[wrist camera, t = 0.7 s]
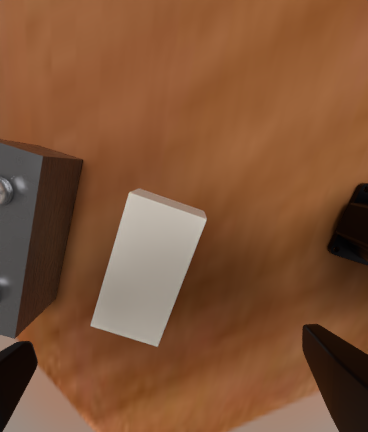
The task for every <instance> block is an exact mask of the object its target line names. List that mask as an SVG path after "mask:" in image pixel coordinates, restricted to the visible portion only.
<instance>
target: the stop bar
mask: <svg viewBox="0 0 368 432" xmlns="http://www.w3.org/2000/svg"><path fill="white" fill-rule="evenodd" d="M82 162H83V160H82V159H79V158H76V157H73V156H70V155H66V154H63V153H60V152H57V151H54V150H51V149H47V148H44V147H41V146H38V145H33V144H26V143H20V142H14V141H7V140H1V139H0V335H3V336H7V337H11V338H14V339H15V338H16V337H17V336H18V335H19V334H20V333H21V332H22V331H23V330H24V329H25V328H26V327H27V326H28V325H29V324H30V323H31V322H32V321H33V320H34V319H35V318H36V317H37V316H38V315H39V314H41V313H42V312H43V311H44V310H45V309H46V308H47V307H48V306H49V305H50V304H51V303H52V302H53V301H54V300H55V299H56V294H57V289H58V284H59V279H60V274H61V269H62V263H63V258H64V253H65V248H66V243H67V238H68V233H69V228H70V223H71V218H72V213H73V208H74V203H75V198H76V193H77V188H78V182H79V177H80V172H81V167H82Z"/></svg>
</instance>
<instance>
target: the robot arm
mask: <svg viewBox="0 0 368 432" xmlns="http://www.w3.org/2000/svg"><path fill="white" fill-rule="evenodd" d="M365 187H366V190H365V191H364V188H365ZM335 247H336V249H335V250H334V248H335ZM328 251H329V252H330V253H332V254H334V255H337V256H340V257H343V258H346V259H349V260H353V261H356V262H359V263H362V264H365V265H368V183H362V184H360V185H359V186H358V187H357V189H356V191H355V193H354V195H353V197H352V199H351V201H350V203H349V205H348V207H347V209H346V211H345V213H344V215H343V217H342V219H341V221H340V223H339V225H338V227H337V229H336V232H335V234H334V236H333V238H332V240H331V242H330V244H329V246H328ZM302 347H303V352H304V355H305V358H306V360H307V362H308V365H309V367H310V369H311V371H312V374H313V376H314V378H315V381H316V383H317V385H318V388H319V390H320V392H321V394H322V397H323V399H324V401H325V404H326V406H327V408H328V410H329V412H330V415H331V417H332V419H333V421H334V423H335V425H336V427H337V428H338V430H339V432H368V355H367V354H366V353H364V352H363V351H361V350H359V349H358V348H356V347H354V346H353V345H351V344H350V343H348V342H346V341H345V340H343V339H341V338H340V337H338V336H337V335H335V334H333V333H332V332H330V331H328V330H327V329H325V328H324V327H322V326H320V325H318V324H306V325H304V326H303V335H302ZM37 363H38V361H37V357H36V354H35V351H34V347H33V344H32V343H31V342H30V341H21V342H16V343H14V344H13V345H11V346H9V347H7V348H6V349H4V350H2V351H1V352H0V432H3V430H4V428H5V427H6V425H7V423H8V421H9V419H10V417H11V416H12V414H13V411H14V410H15V408H16V406H17V404H18V402H19V400H20V398H21V396H22V395H23V393H24V391H25V389H26V387H27V385H28V383H29V381H30V379H31V377H32V376H33V374H34V372H35V370H36V367H37Z"/></svg>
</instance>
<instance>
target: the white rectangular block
mask: <svg viewBox="0 0 368 432" xmlns="http://www.w3.org/2000/svg"><path fill="white" fill-rule="evenodd" d="M206 220H207V218H206V215H205V212H204V211H203V210H200V209H197V208H194V207H191V206H188V205H185V204H183V203H180V202H177V201H174V200H171V199H168V198H165V197H163V196H160V195H157V194H154V193H151V192H148V191H145V190H143V189H140V188H139V189H136V190H134V191H131V192H129V195H128V198H127V202H126V205H125V209H124V212H123V216H122V219H121V222H120V226H119V229H118V233H117V236H116V240H115V243H114V246H113V250H112V253H111V257H110V260H109V264H108V267H107V271H106V274H105V277H104V281H103V284H102V288H101V291H100V295H99V298H98V301H97V305H96V308H95V312H94V315H93V319H92V322H91V326H92V327H95V328H99V329H102V330H105V331H108V332H111V333H115V334H118V335H121V336H124V337H128V338H131V339H134V340H137V341H140V342H144V343H147V344H150V345H153V346H156V347H158V345H159V342H160V340H161V337H162V334H163V332H164V329H165V327H166V324H167V321H168V319H169V316H170V314H171V311H172V308H173V306H174V303H175V301H176V298H177V295H178V293H179V290H180V288H181V285H182V283H183V280H184V277H185V275H186V272H187V270H188V267H189V264H190V262H191V259H192V257H193V254H194V251H195V249H196V246H197V244H198V241H199V238H200V236H201V233H202V231H203V228H204V226H205V223H206Z"/></svg>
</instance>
